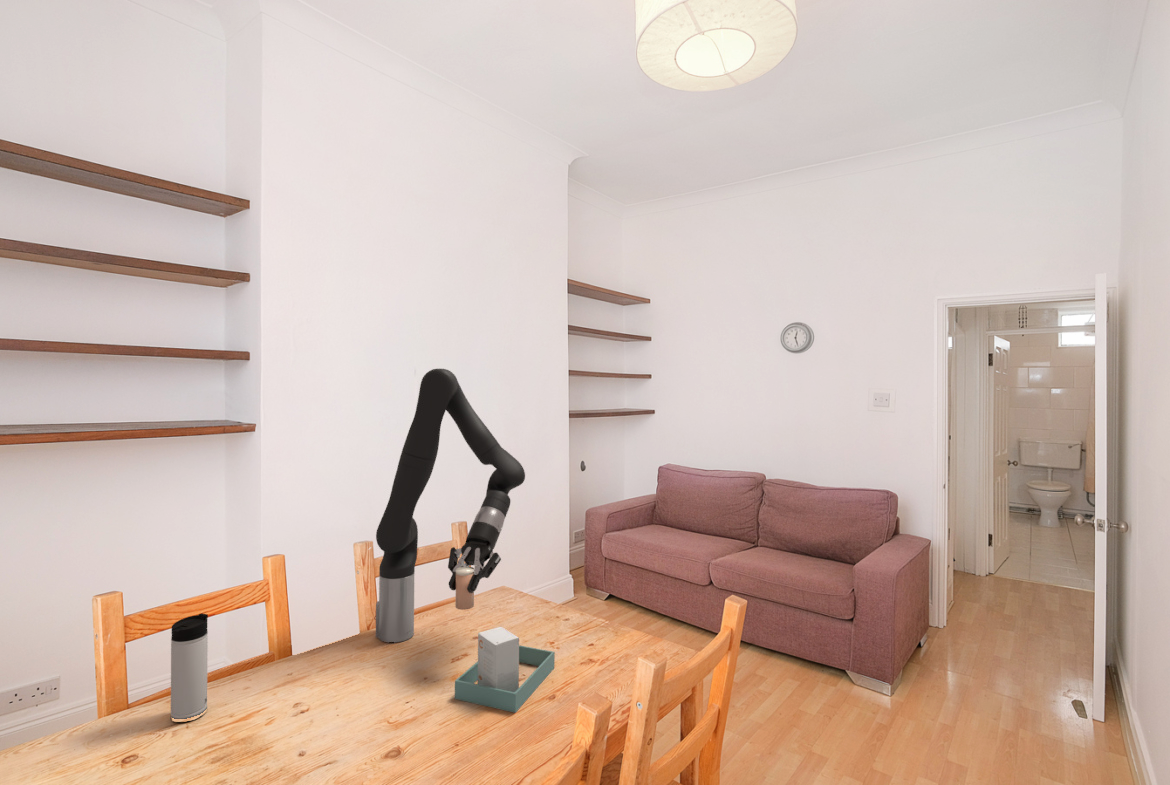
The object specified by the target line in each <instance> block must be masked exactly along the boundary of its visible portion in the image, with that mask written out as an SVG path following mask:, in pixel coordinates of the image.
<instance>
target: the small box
mask: <svg viewBox="0 0 1170 785" xmlns="http://www.w3.org/2000/svg"><path fill="white" fill-rule="evenodd" d="M519 645H520V637H519V636H517V635H515V634H514V633H512V632H511V631H509V630H508V629H507V628H504V627H503V626H498V627H494V628H491V629H487V630H484V631H480V632H478V634H477V661H478V680H477V681H476V682H477V683H476V684H478V685H483V686H487V687H492V688H497V689H501V690H506V691H510V692H516V691H517V689H518V688H519V687H520V675H519V674H520V662H519Z"/></svg>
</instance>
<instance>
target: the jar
mask: <svg viewBox="0 0 1170 785" xmlns="http://www.w3.org/2000/svg"><path fill="white" fill-rule="evenodd" d="M474 569H475V567H472V566H469V567H459V568H457V569H456V589H455V608H456V609H457V610H460V611H461V610H462V611H463V610H470V609H472V608H473V607H475V591H473V593H469V592H468V590H467V587H468V585H469V582H470V580H471V577H472V575H474Z"/></svg>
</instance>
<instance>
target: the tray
mask: <svg viewBox="0 0 1170 785" xmlns="http://www.w3.org/2000/svg"><path fill="white" fill-rule="evenodd" d="M555 654H556V653H555V651H552V650H546V649H542V648H536V647H530V646H525V645H520V644H519V663H521V664H527V665H533V666H535V667H536V666H537V668H536V669H535V670H534V671H533V672H532V673H531V674H530V675H529V677H527V679H525V680H524V682H523V683H522V684H521V685H519V688H518V689H517V691H516V692H510V691H506V690H501V689H497V688H492V687H487V686H483V685H478V684H477V683H476V682H478V660H477V661H476V662H475V663H474V664H473V665H471V666H470V667H469V668H468V669H467V670H465V671H464V673H462V674H461V675H460V676H459V677H457V678H456V679H455V680H454V700H459V701H462V702H467V703H471V704H475V705H480V706H485V707H490V708H492V709H497V710H502V711H506V712H510V713H511V712H512V713H517V712H518V711H519V709H521V707H522V706H523V705H524V703H526V701H527V700H528V699H529V698H530V697H531V696H532V694H534V692H535V691H536V690H537V688H538V687H539V686H540V685H541V684H542V683H543V682H544V681H545V679H546V678H547V677H548V676H549V675H550V674H551V673H552V671H553V670H554V669H555Z"/></svg>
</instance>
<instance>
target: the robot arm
mask: <svg viewBox="0 0 1170 785" xmlns="http://www.w3.org/2000/svg"><path fill="white" fill-rule="evenodd" d="M415 408H416V409H415V412H414V417H413V419H412V422H411V424H410V426H409V430H408V433H407V435H406V438H405V441H404V444H403V447H402V449H401V453H400V456H399V460H398V464H397V467H396V468H397V469H396V472H395V475H394V479H393V483H392V486H391V491H390V494H389V499H388V502H387V504H386V507H385V510H384V511H383V514H382V517H381V519H380V522H379V523H378V526H377V529H376V534H375V539H376V543H377V545H378V546H377V547H379V549H380V550H382V551H383V556H382V559H381V561H380V564H379V571H378V572H379V573H378V574H379V577H378V580H379V582H378V585H379V587H378V590H379V591H378V592H379V593H378V597H379V598H378V601H377V602H376V603H375V638H378V639H379V640H380V641H381V642H383V641H385V642H384V643H389V642H394V643H400V642H404V641H408V640H410V639H411V638H412V637H413V636H414V634H415V633H414V632H415V572H416V571H415V569H416V568H415V567H416V563H417V557H418V543H419V542H418V539H419V536H418V534H419V532H418V531H419V530H418V524H417V521H416V520H415V519H414V517H413V516H414V512H415V509H416V508H417V507H416V506H417V505H418V502H419V500H420V498H421V496H422V493H423V492H424V490H425V488H426V487H427V484H428V482H429V480H430V478H431V476H432V473H433V470H434V466H435V463H436V459H437V455H438V453H439V452H438V451H439V445H440V435H441V427H442V426H441V425H442V421H443V418H444V415H445V413H446V412H447V413H448V414H449V416H450V417H451V418H452V420H453V421H454V423H455V425H456V426H457V428H458V430H459V431H460V433H461V435H462V437H463V439H464V441H465V442H466V444H467V445H468V447H469V449H470V450H471V451H472V453H473V454H474V455H475V457H476V458H477V459H478V461H479V462H480V463H481V464H482V465H484V466H489V465H490V466H492V467H494V468H495V470H494V471H493V472H492V473H491V475H490V477H489V479H488V483H487V486H486V494H485V497H484V499H483V502H482V503H481V506H480V509H479V511H478V512H477V514H476V515H475V518H474V520H473V522H472V525H471V527H470V529H469V531H468V533H467V535H466V539H465V542H464V544H463V545H462V546H461V547H460V548H456V547H454V546H453V547H451V548H450V552H449V558H448V564H447V568H448V569H449V571H450V572H451V573H452V575H451V577H450V579H449V581H448V588H449V589H450V590H451V591H456V569H457V568H459V567H471V566H474V575H472V577H471V580H470V582H469V585H468V587H467V590H468V592H469V593H473V591H474V592H475V591H476V590H477V588H478V586H479V584H480V583H479V582H480V580H482V579H484V578H485V579H489V577H490V576H491V575H492V573H493V572H494V571H495V569H496V568H497V566H498V565H499V563H500V562H502V558H501V557H500V555H499V554H498V552H494V549H495V547H496V545H497V542H498V539H499V537H500V535H501V532H502V529H503V526H504V523H505V519H506V517H507V514H508V511H509V509H510V505H511V498H510V496H509V493H510V492H511V490H514V489H515V488H517V487H519V486H521V485H523V483H524V481H525V479H526V472H525V469H524V467H523V465H522V463H520V461H519V460H518V459H516V458H515V457H514V456H513V455H512V454H511V453H510V452H508V451H507V450H506V449H505V448H504V447H502V446H501V444H500V443H499V442H498V440H497V439H496V437H495V436H494V435H493V433H492V432H491V431H490V429H489V428H488V427H487V425H486V423H485V422H484V421H483V420H482V419H481V418H480V417H479V415H478V414H477V413H476V411H475V410H474V408H473V407H472V405H471V403H470V402H469V401H468V398H467V397H466V395H465V393H464V391H463V389H462V388H461V385H460V383H459V381H458V379H457V377H456V375H455V373H453V372H452V371H451V370H449V369H446V368H432V369H431V370H429V371H427V372H426V373H425V374H424V375H423V377H422V378H421V382H420V384H419V392H418V397H417V402H416V407H415ZM460 556H461V557H460Z"/></svg>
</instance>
